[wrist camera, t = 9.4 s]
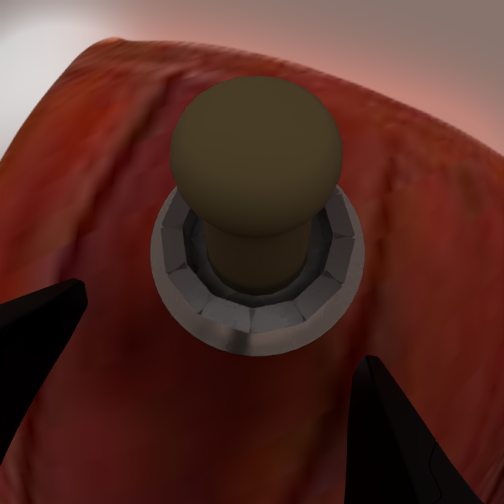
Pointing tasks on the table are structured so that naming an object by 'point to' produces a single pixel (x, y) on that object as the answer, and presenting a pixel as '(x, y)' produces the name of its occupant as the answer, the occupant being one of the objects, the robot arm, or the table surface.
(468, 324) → the table surface
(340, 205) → the iron collar
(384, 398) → the robot arm
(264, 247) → the cork
